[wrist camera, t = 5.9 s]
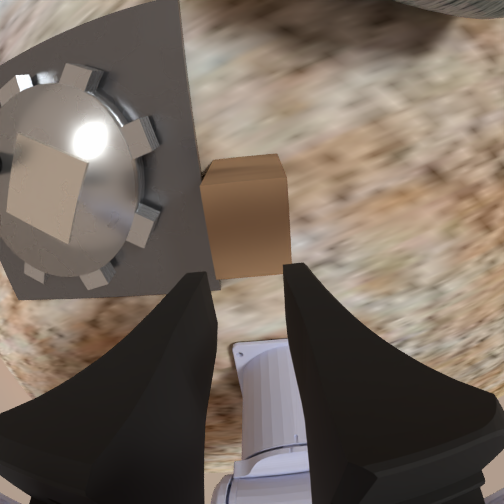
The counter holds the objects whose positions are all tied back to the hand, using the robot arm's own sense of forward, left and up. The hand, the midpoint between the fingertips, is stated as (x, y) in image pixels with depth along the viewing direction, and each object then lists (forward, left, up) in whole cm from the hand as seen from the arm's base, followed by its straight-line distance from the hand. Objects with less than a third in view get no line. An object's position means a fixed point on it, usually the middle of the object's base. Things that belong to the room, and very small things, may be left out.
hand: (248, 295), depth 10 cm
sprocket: (+3, +12, -9) cm, 15 cm away
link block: (0, 0, -10) cm, 10 cm away
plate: (+3, +12, -9) cm, 15 cm away
